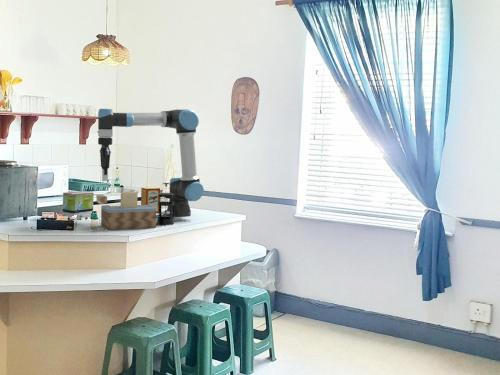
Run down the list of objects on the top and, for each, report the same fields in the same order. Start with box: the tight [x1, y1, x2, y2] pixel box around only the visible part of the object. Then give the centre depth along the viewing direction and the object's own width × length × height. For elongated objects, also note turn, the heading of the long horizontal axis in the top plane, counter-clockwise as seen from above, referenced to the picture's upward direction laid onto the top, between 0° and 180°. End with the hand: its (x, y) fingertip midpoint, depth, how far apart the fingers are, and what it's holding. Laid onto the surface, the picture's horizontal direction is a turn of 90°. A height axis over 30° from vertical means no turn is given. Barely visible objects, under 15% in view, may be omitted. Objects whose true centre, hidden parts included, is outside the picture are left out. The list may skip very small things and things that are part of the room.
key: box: [95, 194, 108, 205], centre depth 342 cm, size 4×9×4 cm, turn 29°
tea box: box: [61, 190, 95, 220], centre depth 357 cm, size 15×10×15 cm, turn 151°
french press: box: [156, 182, 176, 226], centre depth 347 cm, size 12×9×23 cm
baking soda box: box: [140, 186, 161, 214], centre depth 384 cm, size 10×6×16 cm
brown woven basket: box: [100, 204, 157, 231], centre depth 334 cm, size 26×17×10 cm, turn 119°
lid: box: [100, 191, 156, 213], centre depth 332 cm, size 26×14×11 cm, turn 119°
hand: (104, 180), depth 337 cm, fingers closed
